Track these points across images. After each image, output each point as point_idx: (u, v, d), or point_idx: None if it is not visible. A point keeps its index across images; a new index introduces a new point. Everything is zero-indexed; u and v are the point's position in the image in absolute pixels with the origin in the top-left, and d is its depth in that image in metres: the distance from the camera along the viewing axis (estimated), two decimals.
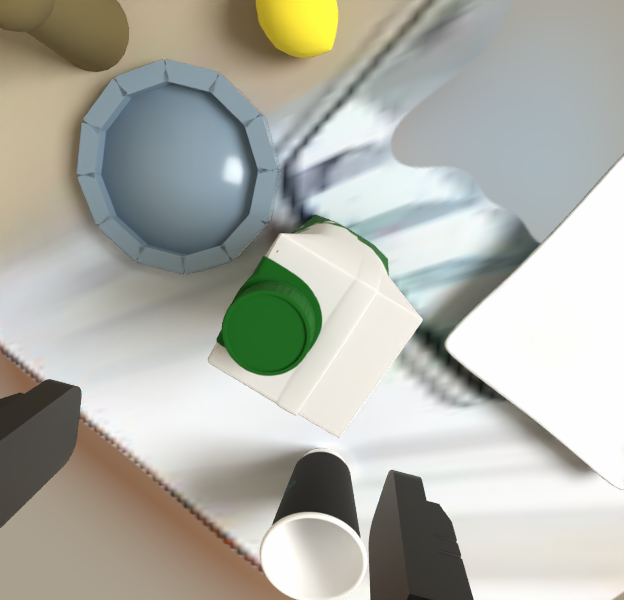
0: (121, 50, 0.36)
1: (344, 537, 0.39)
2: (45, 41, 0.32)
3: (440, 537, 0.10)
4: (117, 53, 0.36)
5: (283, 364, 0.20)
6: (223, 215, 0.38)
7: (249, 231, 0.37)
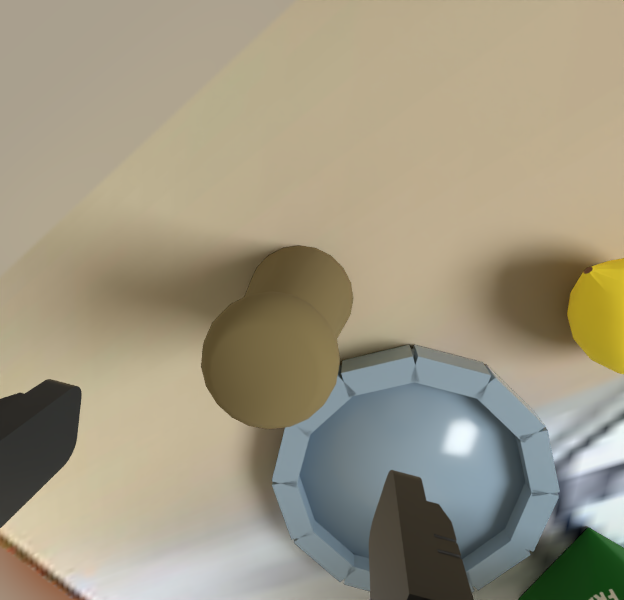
0: None
1: None
2: None
3: (440, 537, 0.10)
4: None
5: None
6: (464, 528, 0.28)
7: (506, 560, 0.28)
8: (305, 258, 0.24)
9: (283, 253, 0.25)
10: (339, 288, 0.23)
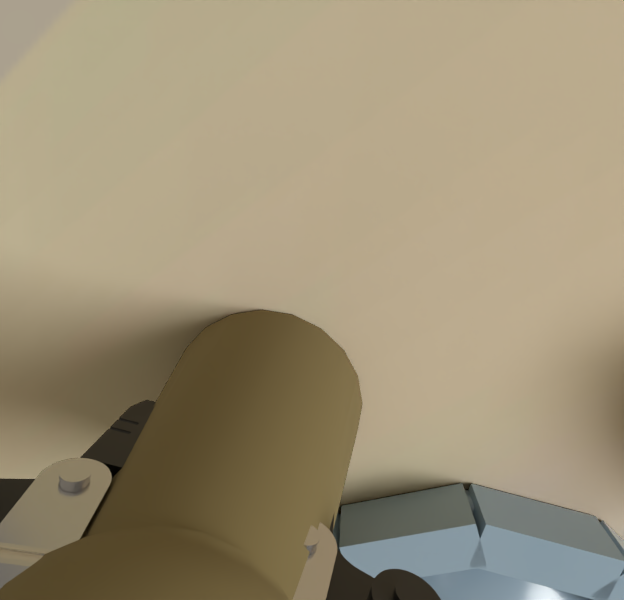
0: None
1: None
2: None
3: None
4: None
5: None
6: None
7: None
8: (268, 346, 0.12)
9: (230, 330, 0.13)
10: (336, 409, 0.12)
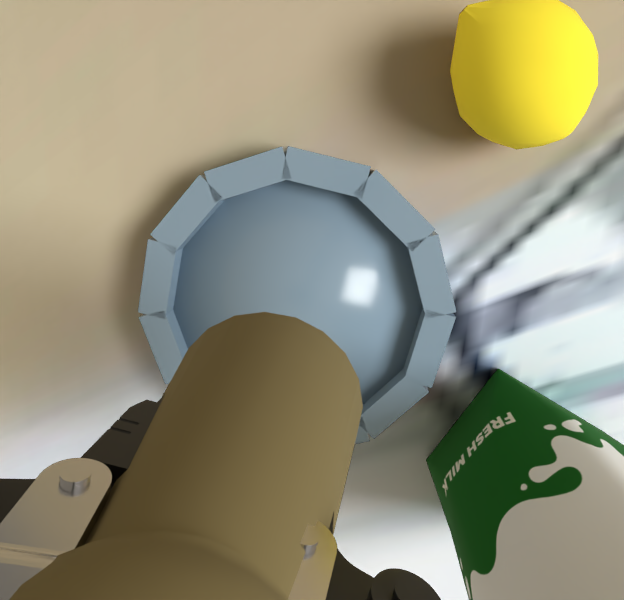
0: None
1: None
2: None
3: None
4: None
5: None
6: (358, 370, 0.25)
7: (403, 400, 0.24)
8: (271, 349, 0.12)
9: (233, 332, 0.13)
10: (338, 412, 0.12)
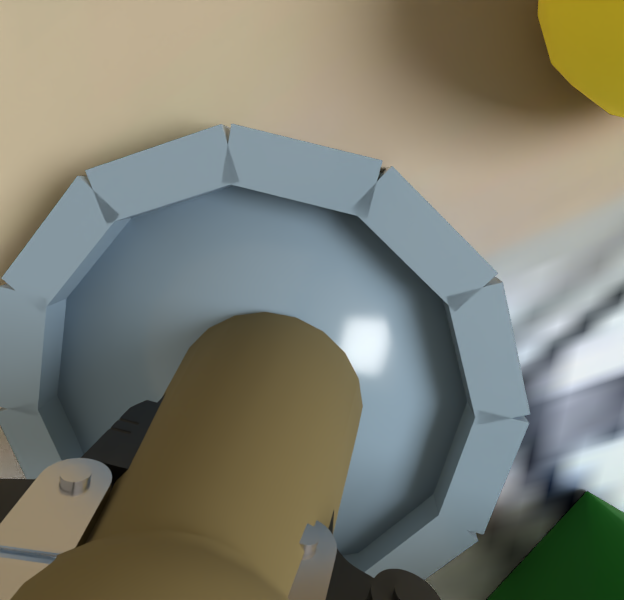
0: None
1: None
2: None
3: None
4: None
5: None
6: (359, 494, 0.15)
7: (434, 552, 0.15)
8: (271, 349, 0.12)
9: (233, 332, 0.13)
10: (338, 412, 0.12)
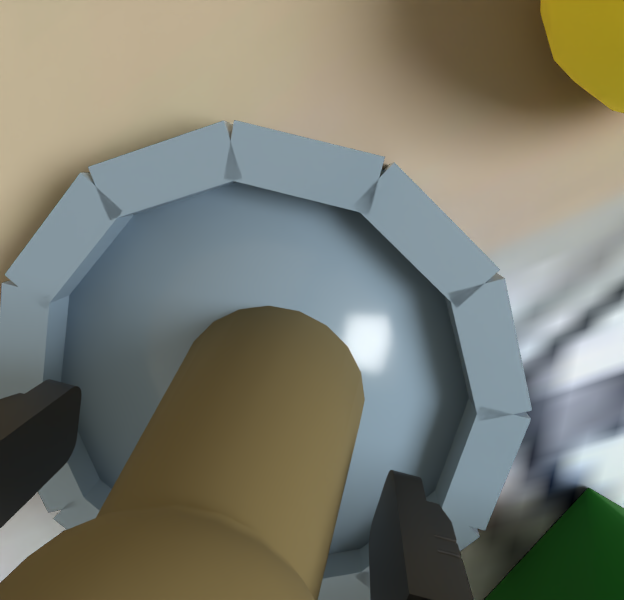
0: None
1: None
2: None
3: (440, 537, 0.10)
4: None
5: None
6: (361, 491, 0.16)
7: None
8: (276, 340, 0.12)
9: (238, 324, 0.13)
10: (341, 402, 0.12)
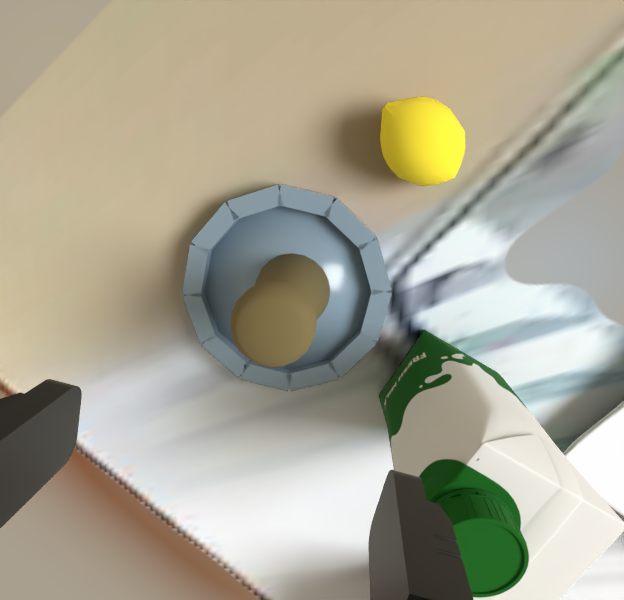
0: (322, 312, 0.37)
1: None
2: None
3: (440, 537, 0.10)
4: None
5: (494, 586, 0.20)
6: (330, 331, 0.37)
7: (359, 350, 0.37)
8: (296, 262, 0.34)
9: (281, 258, 0.35)
10: (319, 282, 0.34)
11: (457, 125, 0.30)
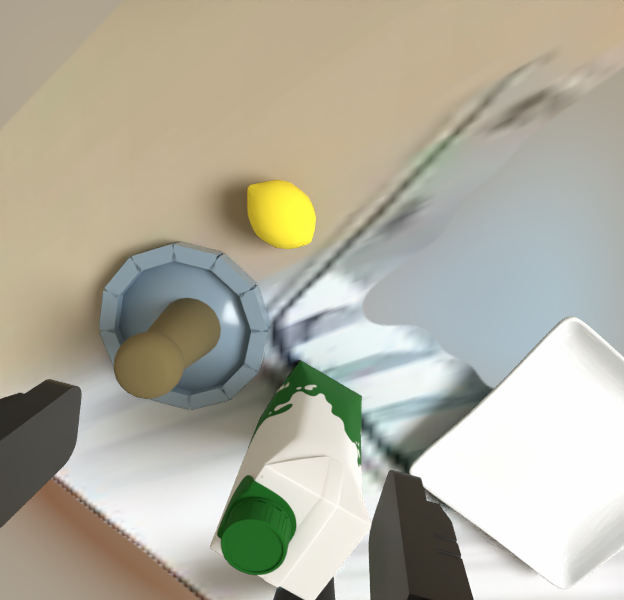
0: (214, 346, 0.44)
1: None
2: None
3: (440, 537, 0.10)
4: (211, 349, 0.44)
5: (266, 567, 0.27)
6: (222, 361, 0.45)
7: (244, 377, 0.44)
8: (186, 307, 0.42)
9: (177, 303, 0.43)
10: (204, 324, 0.42)
11: (303, 205, 0.37)
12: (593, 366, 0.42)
